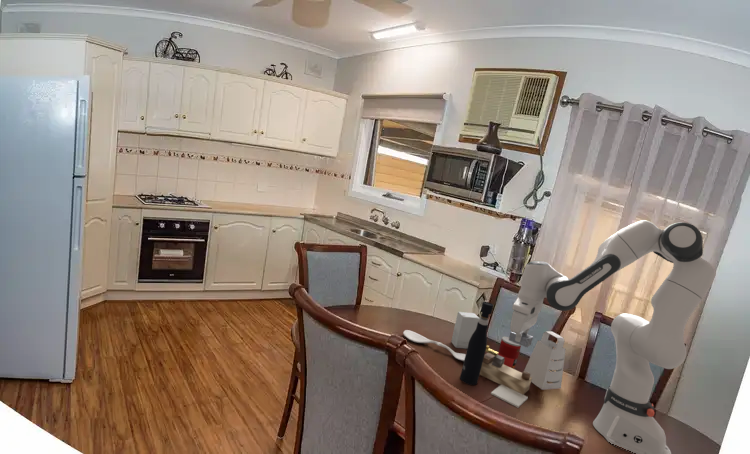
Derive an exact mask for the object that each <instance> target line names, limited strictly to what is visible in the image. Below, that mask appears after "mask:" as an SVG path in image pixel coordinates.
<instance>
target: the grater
mask: <svg viewBox="0 0 750 454" xmlns="http://www.w3.org/2000/svg"><path fill="white" fill-rule="evenodd" d="M550 335H551V336H552V337H555V338H556V339H557V343H556V342H554V341H553V340H549V337H550ZM564 345H565V339H564V337H563V336H561V335H559V334H558V333H556V332H554V331H547V330H546V331H544V332H542V336H541V340H537V342H536V344H535V346H534V348H533V350H532V352H531V354H530V357H529V359H528V361H527V363H526V365H525V368H524V370H523V371H526V372H528V373H530V374H531V375H530V377H532V380H531V384H534V385H535V386H536V387H537V388H538V389H540V390H542V391H543V390H554V389H561V388H562V384H563V383H562V382H563V373H564V367H565V359H566V358H565V357H566V351H567V350H566V348H565V347H564ZM548 382H549V383H548Z"/></svg>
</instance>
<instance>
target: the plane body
mask: <svg viewBox="0 0 750 454" xmlns="http://www.w3.org/2000/svg"><path fill="white" fill-rule="evenodd" d="M503 362H504V357H502V356H500V355H497V356H495V355H493V354H490V353H488V352H486V353H485V355H484V359H483V363H482V367H481V370H480V374H479V376H482V377H484V378H487V379H488V380H490V381H492V382H495V383H496V384H498V385H499V386H500V385H501V384H502V385H504V386H506V387H508V388H510V389H513V390H515V391H517V392H519V393H521V394H523V395H525V394H526V393H527V392H528V391H529V390H530V387H531V384H532V382H531V380H532V377H530V375H531V374H530V373H528V372H526V371H524V370H523V371H522V372H521V371H519V370H517V369H515V368H514V369H513V368H510V367H508V366H506V365H504V364H503Z"/></svg>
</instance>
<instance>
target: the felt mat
mask: <svg viewBox="0 0 750 454" xmlns="http://www.w3.org/2000/svg"><path fill="white" fill-rule="evenodd" d="M490 395H492V396H494V397H496V398H498V399H499V400H502V401H504V402H506V403H508V404H510V405H512V406H513V407H516V408H520V407H521V406H522V405H523V404H524V403H525V402H526V401H527V400H528V399H529V398H528V395H525V394H524V395H523V394H521V393H519V392H517V391H515V390H513V389H510V388H508V387H506V386H504V385H502V384H501V385H500V384H499V385H498V386H497V387H496V388H494V389H493V390H492V391H491V392H490Z"/></svg>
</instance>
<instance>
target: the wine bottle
mask: <svg viewBox="0 0 750 454" xmlns="http://www.w3.org/2000/svg"><path fill="white" fill-rule="evenodd" d="M493 308H494V304H493V303H491V302H490V301H489V302H488V301H483V302H482V304H481V308H480V312H481V315H480V317H479V318H480V319H479V322H478V323H477V327H476V330H475V331H474V333H473V334H472V336H471V338H470V340H469V344H468V348H467V349H466V353H465V354H466V356H465V360H464V361H463V364H462V368H461V373H460V376H459V379H460V381H462V383H465V384H467V385H470V386H476V385H478V381H479V377H480V370H481V367H482V363H483V359H484V355H485V354H486V347H487V345H488V337H487V335H488V334H487V332H488V329H489V328H488V326H489V316H490V315H491V314H492V313H493V310H494V309H493Z"/></svg>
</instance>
